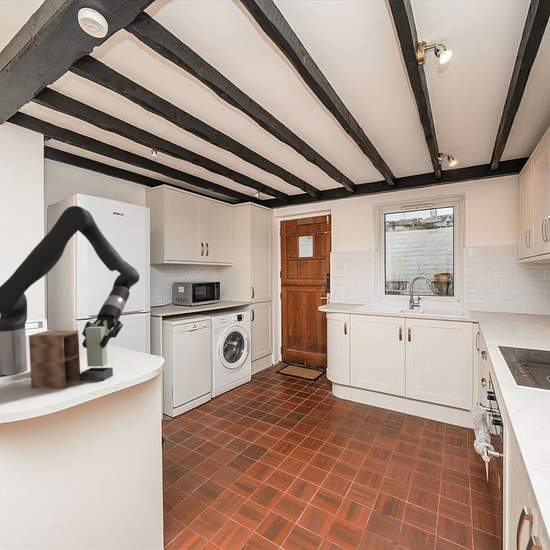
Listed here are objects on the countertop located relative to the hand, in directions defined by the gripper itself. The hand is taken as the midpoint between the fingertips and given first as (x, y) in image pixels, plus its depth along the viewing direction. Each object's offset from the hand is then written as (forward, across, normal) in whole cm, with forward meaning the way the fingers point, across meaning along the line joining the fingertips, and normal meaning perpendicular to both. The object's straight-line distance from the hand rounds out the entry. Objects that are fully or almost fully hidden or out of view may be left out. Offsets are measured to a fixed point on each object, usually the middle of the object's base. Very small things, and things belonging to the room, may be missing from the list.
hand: (93, 346), depth 111 cm
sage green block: (+4, 0, +6) cm, 8 cm away
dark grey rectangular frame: (+7, 0, +10) cm, 12 cm away
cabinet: (+12, -11, +5) cm, 17 cm away
